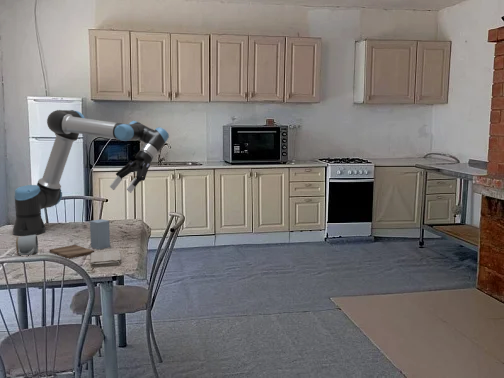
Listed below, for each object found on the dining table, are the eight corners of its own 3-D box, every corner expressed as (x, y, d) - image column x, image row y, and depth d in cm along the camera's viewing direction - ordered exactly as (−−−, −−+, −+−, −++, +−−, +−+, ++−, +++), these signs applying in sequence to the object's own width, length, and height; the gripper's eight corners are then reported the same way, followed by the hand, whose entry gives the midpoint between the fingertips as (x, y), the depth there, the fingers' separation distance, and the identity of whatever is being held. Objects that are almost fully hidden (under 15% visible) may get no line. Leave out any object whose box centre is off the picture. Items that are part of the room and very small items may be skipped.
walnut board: (49, 252, 226) (49, 249, 226) (74, 247, 235) (74, 244, 235) (68, 259, 215) (68, 256, 215) (94, 253, 224) (94, 250, 224)
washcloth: (90, 269, 203) (90, 261, 202) (90, 257, 220) (89, 250, 219) (121, 266, 206) (121, 259, 206) (119, 255, 223) (118, 248, 223)
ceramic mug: (18, 251, 227) (17, 234, 226) (38, 249, 230) (37, 232, 229) (15, 257, 217) (14, 239, 216) (36, 256, 220) (35, 238, 219)
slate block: (90, 247, 235) (89, 221, 234) (102, 244, 240) (101, 219, 238) (98, 249, 231) (97, 222, 230) (110, 247, 236) (109, 220, 234)
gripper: (167, 161, 243) (141, 197, 234) (135, 159, 260) (110, 192, 251) (157, 150, 239) (130, 186, 230) (126, 148, 255) (100, 182, 246)
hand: (120, 189), depth 240 cm, fingers open, 13 cm apart
